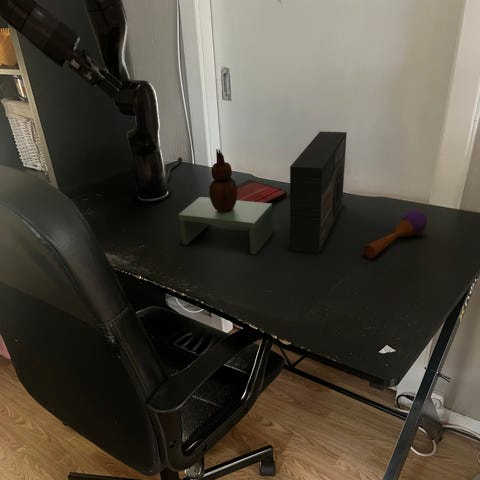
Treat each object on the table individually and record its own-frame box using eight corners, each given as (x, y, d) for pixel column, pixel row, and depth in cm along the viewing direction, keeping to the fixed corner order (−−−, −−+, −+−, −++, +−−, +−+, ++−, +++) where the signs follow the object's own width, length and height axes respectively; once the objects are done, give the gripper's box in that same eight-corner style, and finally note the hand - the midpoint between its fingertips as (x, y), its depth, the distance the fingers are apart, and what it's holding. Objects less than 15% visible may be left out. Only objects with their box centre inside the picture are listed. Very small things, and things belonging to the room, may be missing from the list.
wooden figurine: (225, 216, 115) (219, 152, 106) (206, 211, 118) (200, 148, 109) (242, 206, 119) (238, 144, 110) (224, 202, 122) (219, 141, 113)
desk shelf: (203, 225, 131) (200, 196, 126) (272, 233, 124) (272, 203, 119) (182, 244, 122) (178, 214, 117) (255, 254, 115) (254, 223, 110)
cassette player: (319, 253, 113) (321, 168, 102) (290, 250, 116) (289, 166, 104) (342, 206, 135) (346, 132, 124) (317, 204, 138) (319, 131, 126)
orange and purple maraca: (357, 238, 110) (409, 205, 119) (360, 261, 112) (410, 228, 122) (378, 241, 105) (431, 207, 114) (381, 265, 108) (432, 231, 117)
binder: (202, 199, 140) (248, 178, 153) (202, 206, 142) (248, 185, 154) (244, 213, 131) (289, 189, 144) (244, 221, 133) (289, 197, 145)
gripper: (53, 22, 93) (125, 82, 100) (65, 18, 104) (129, 72, 112) (33, 55, 95) (105, 111, 103) (48, 48, 107) (111, 99, 114)
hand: (118, 91), depth 107 cm, fingers open, 8 cm apart
